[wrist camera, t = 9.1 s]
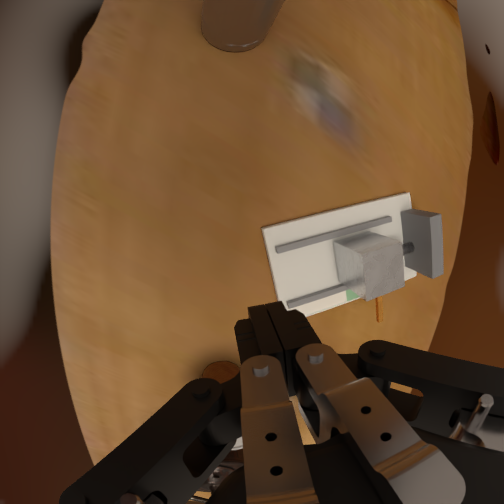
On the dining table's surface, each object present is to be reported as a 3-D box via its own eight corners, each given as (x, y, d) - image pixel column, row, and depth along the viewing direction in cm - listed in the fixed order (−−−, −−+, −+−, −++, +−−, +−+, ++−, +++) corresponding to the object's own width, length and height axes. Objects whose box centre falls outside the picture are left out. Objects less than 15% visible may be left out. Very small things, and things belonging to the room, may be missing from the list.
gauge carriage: (332, 241, 40) (362, 254, 33) (395, 223, 42) (429, 232, 34) (342, 311, 43) (368, 335, 35) (400, 289, 44) (430, 306, 37)
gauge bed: (261, 227, 40) (277, 239, 32) (405, 192, 42) (439, 196, 35) (281, 320, 43) (299, 348, 35) (412, 273, 46) (443, 288, 38)
